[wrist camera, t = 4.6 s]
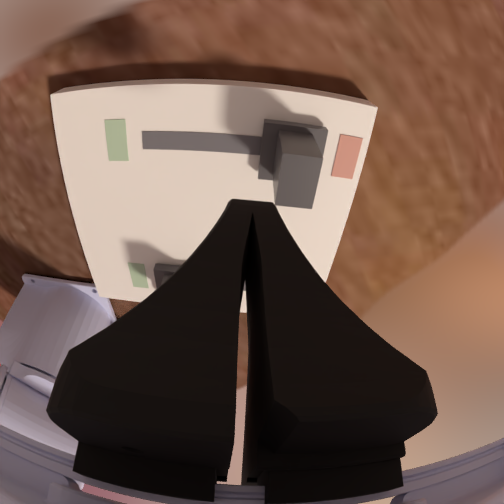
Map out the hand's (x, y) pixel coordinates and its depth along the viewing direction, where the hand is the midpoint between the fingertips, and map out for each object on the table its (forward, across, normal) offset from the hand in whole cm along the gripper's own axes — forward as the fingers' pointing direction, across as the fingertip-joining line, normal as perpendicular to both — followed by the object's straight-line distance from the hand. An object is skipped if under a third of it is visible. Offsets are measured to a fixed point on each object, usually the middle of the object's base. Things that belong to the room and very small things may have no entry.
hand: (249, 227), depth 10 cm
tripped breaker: (+7, -2, 0) cm, 7 cm away
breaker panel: (+8, +3, +5) cm, 10 cm away
